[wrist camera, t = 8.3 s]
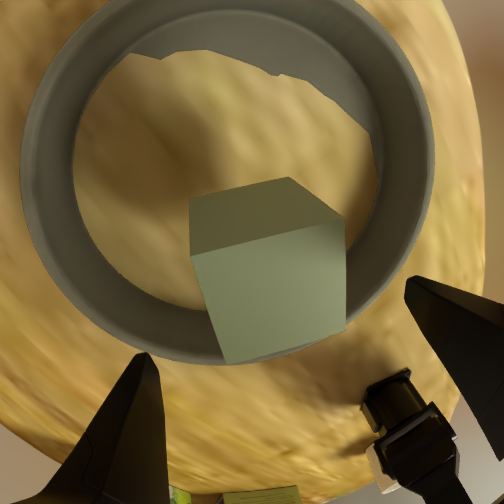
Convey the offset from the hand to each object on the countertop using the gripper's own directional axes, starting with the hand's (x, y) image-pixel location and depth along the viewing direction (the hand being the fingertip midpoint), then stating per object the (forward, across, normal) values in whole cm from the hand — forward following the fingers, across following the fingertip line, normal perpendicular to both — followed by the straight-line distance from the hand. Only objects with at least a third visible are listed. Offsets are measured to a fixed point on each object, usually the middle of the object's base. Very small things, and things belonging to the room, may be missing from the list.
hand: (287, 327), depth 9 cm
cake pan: (+12, 0, -2) cm, 12 cm away
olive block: (+7, 0, 0) cm, 7 cm away
